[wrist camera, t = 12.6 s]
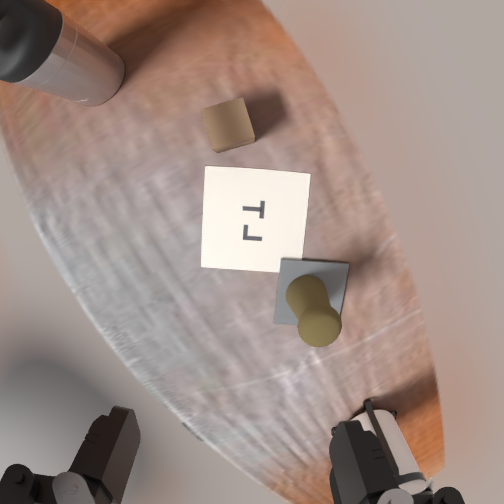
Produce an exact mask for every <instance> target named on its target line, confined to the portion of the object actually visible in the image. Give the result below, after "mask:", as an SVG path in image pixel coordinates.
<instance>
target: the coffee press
mask: <svg viewBox="0 0 504 504" xmlns="http://www.w3.org/2000/svg"><path fill="white" fill-rule="evenodd" d="M363 405H364V413H362V414H360V415H358V416H356V417H355V418H353V419H352V420H359V421H360V422H361V424H362V427H363V429H364V431H367V430H371V431H372V432H373V433H374V434H375V435H376V436H377V437H378V438H379V440H380V443H381V445H382V447H383V450H384V452H385V455H386V458H387V459H388V462H389V464H390V467H391V469H392V471H393V474H394V476H395V479H396V481H397V484H398V486H399V487H400V488H401V489H403V490H405V491H407V492H408V493H410V494H411V495H431V494H433V478H430V479H429V480H427V481H426V479H425V477H424V475H423V473H421V472H420V469H419V467H418V465H417V463H416V461H415V459H414V457H413V455H412V453H411V451H410V449H409V447H408V445H407V443H406V440H405V438H404V436H403V434H402V433H401V431H400V429H399V427H398V425H397V423H396V417H395V419H394V417H393V415H395V416H397V412H396V411H392V412H391V413H390V412H388V411H385V410H373V408H372V403H371V400H367V401H364V402H363ZM336 428H337V427H334V428H332V430H331V435H332V436H333V435H334V431H336ZM330 486H331V491H332V496H333V500H334V504H342V502H341V498H340V494H339V490H338V486H337V482H336V478H335V474H334V470H333V467H332V469H331V472H330Z"/></svg>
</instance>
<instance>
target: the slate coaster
mask: <svg viewBox="0 0 504 504" xmlns="http://www.w3.org/2000/svg"><path fill="white" fill-rule="evenodd" d="M348 269H349V264H348V263H340V262H324V261H309V260H293V259H280V268H279V277H278V287H277V296H276V304H275V313H274V321H273V322H274V324H291V325H298V319H297V318H296V316H295V314H294V313H293V311H292V310H291V308H290V306H289V305H288V303H287V301H286V290H287V288H288V286H289V284H290V283H291V282H292V281H293V280H294V279H296V278H298V277H299V276H303V275H313V276H316V277H318V278H319V279H320V280H322V281H323V283H324V285H325V287H326V290H327V294H328V297H329V301H330V305H331V307H333V308H334V309H335V310H336V311H337V312H338V313H339V315H340V311H341V306H342V301H343V296H344V291H345V285H346V280H347V274H348Z"/></svg>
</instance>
